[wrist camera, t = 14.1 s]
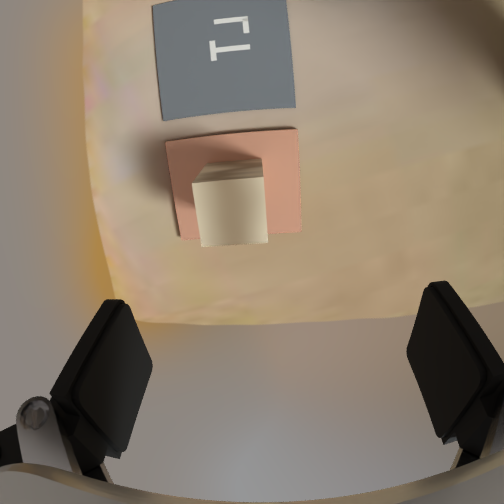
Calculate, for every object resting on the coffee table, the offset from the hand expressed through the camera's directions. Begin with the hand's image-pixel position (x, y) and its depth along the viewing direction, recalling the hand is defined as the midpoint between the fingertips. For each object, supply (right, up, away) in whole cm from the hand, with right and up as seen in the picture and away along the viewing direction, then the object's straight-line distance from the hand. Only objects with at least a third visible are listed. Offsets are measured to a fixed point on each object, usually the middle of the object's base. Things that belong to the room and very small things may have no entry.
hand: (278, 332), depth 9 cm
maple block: (-2, +8, +19) cm, 21 cm away
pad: (-2, +9, +20) cm, 22 cm away
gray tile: (-3, +20, +14) cm, 24 cm away
